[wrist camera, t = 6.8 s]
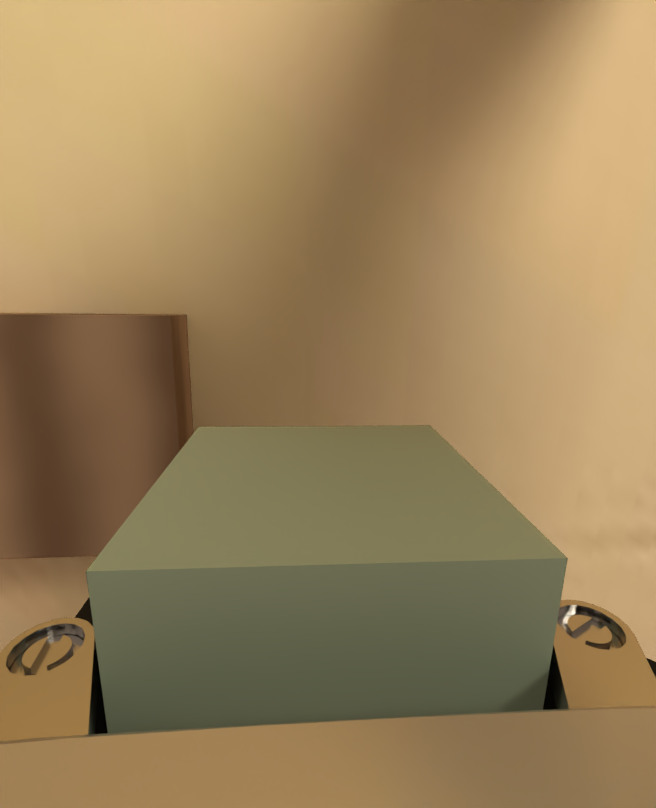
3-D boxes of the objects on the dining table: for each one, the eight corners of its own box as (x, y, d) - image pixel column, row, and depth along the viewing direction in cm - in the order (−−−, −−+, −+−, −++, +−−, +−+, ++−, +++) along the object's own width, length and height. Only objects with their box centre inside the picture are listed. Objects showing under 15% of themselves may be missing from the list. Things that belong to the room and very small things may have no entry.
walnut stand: (186, 314, 23) (170, 316, 20) (198, 524, 25) (186, 553, 22) (-58, 312, 22) (-113, 313, 19) (-19, 530, 24) (-62, 560, 21)
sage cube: (430, 425, 11) (567, 557, 6) (415, 619, 13) (513, 886, 7) (198, 426, 11) (85, 571, 5) (210, 627, 12) (132, 916, 7)
